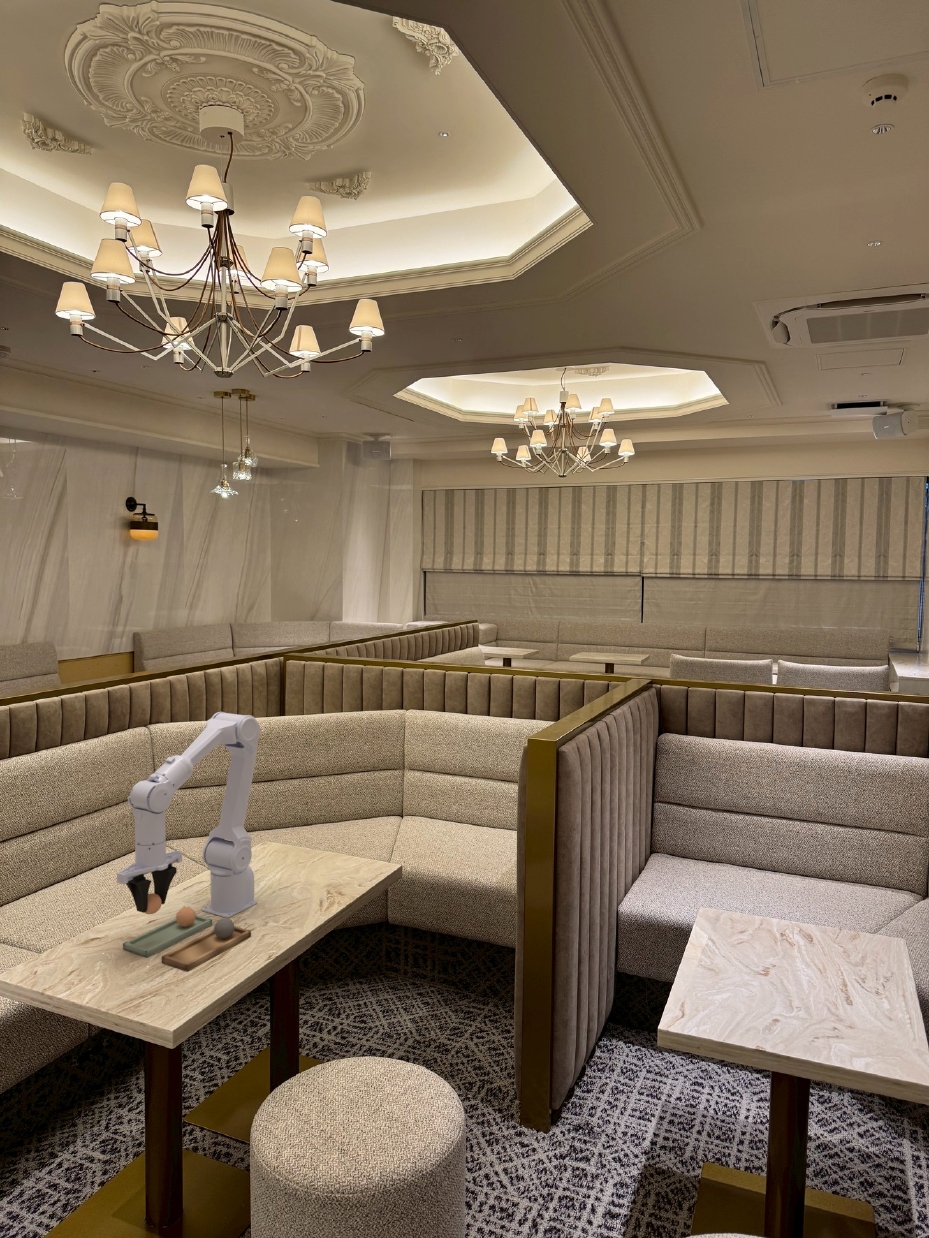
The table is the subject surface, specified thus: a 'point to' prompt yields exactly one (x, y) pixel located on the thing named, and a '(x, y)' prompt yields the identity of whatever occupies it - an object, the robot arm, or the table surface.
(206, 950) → the trough walnut
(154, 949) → the trough green
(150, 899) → the terracotta ball
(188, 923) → the terracotta ball
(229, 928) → the charcoal ball
